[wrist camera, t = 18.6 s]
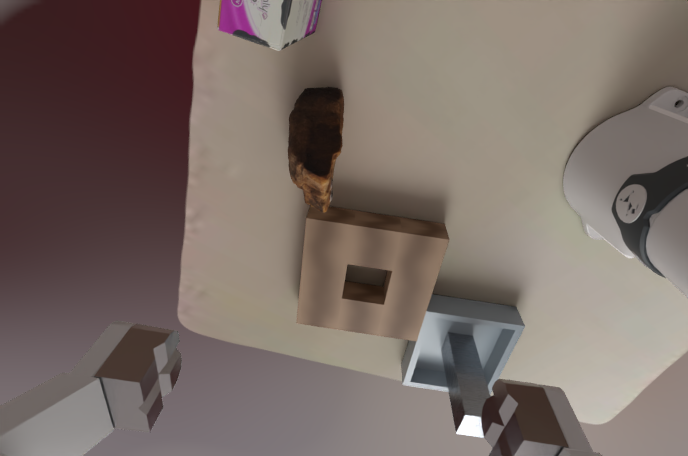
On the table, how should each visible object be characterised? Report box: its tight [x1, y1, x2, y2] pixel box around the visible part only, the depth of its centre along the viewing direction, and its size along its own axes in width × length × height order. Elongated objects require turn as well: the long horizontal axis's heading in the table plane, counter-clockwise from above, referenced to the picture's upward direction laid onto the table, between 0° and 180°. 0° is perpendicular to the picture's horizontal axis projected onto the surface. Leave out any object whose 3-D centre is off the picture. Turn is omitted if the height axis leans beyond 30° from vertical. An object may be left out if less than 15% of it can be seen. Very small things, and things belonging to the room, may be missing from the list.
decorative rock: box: [288, 87, 344, 213], centre depth 42 cm, size 12×6×11 cm, turn 171°
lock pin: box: [441, 332, 491, 438], centre depth 55 cm, size 4×4×14 cm
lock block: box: [296, 205, 449, 341], centre depth 55 cm, size 18×18×4 cm
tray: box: [401, 294, 525, 394], centre depth 60 cm, size 14×16×4 cm
